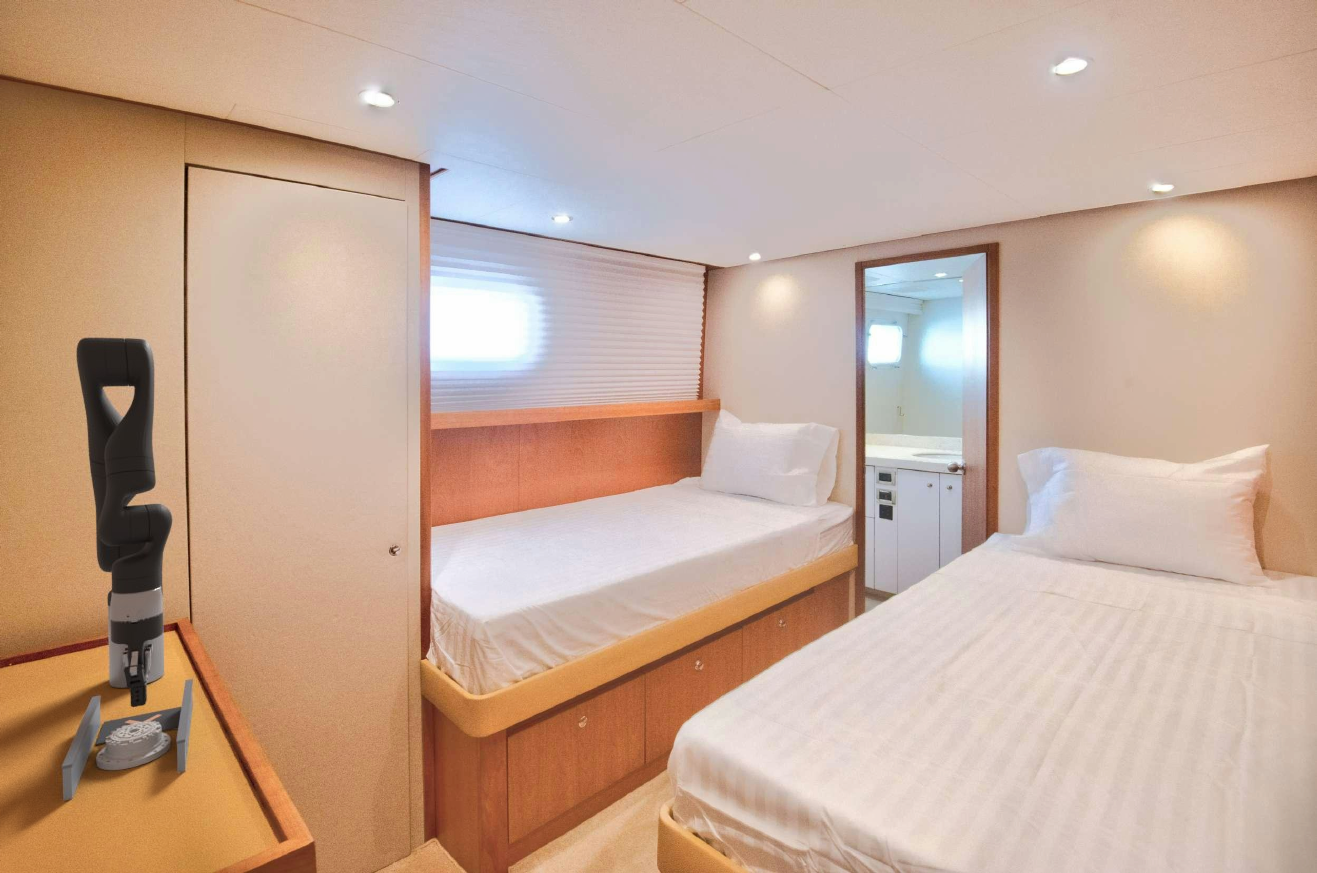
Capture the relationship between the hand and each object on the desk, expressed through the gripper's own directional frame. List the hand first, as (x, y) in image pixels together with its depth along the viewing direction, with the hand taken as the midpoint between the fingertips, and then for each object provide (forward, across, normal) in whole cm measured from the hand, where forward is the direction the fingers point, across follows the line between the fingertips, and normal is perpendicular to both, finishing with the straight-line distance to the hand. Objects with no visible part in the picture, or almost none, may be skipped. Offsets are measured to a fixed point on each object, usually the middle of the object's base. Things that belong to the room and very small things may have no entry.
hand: (138, 704), depth 118 cm
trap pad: (+5, -1, 0) cm, 5 cm away
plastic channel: (+5, +7, 0) cm, 9 cm away
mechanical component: (+5, +10, 0) cm, 11 cm away
